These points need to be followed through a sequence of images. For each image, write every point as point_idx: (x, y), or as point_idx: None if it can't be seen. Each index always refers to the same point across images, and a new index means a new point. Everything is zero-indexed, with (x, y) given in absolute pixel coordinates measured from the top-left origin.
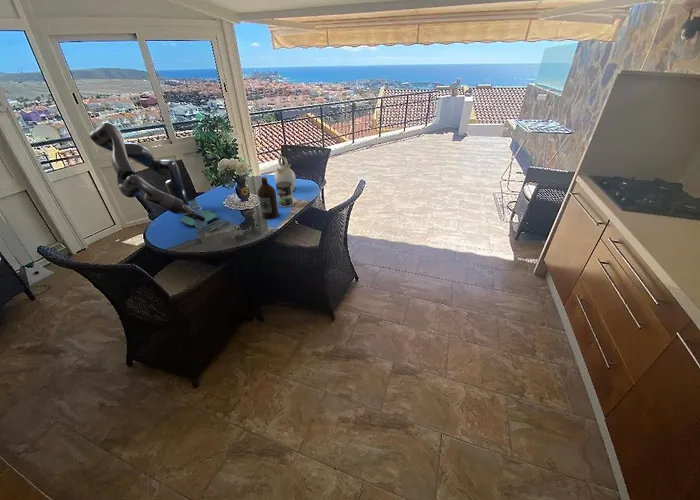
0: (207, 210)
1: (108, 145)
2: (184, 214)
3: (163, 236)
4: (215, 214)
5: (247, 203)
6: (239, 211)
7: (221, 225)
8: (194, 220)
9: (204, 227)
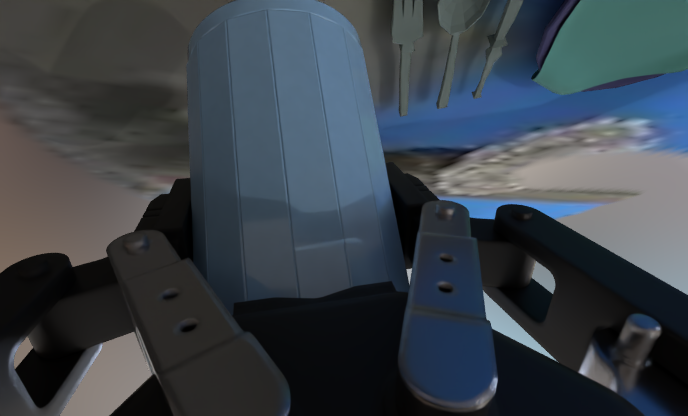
0: (684, 67)
1: None
2: (167, 388)
3: None
4: (565, 89)
5: (499, 170)
6: (472, 146)
7: (400, 73)
8: (230, 151)
9: None
